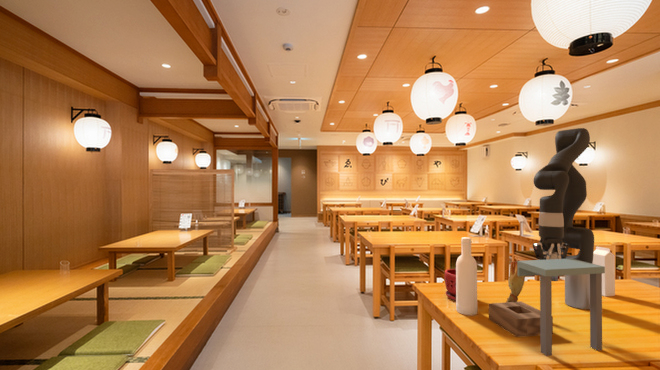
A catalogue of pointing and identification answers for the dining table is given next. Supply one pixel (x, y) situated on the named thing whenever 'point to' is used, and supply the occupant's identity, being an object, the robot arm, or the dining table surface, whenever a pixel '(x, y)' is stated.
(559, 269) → the small grey stool
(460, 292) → the bottle
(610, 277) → the milk
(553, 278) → the peg
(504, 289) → the dining table surface
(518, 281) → the crab claw
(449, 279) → the plant pot
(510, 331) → the socket block
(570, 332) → the dining table surface
